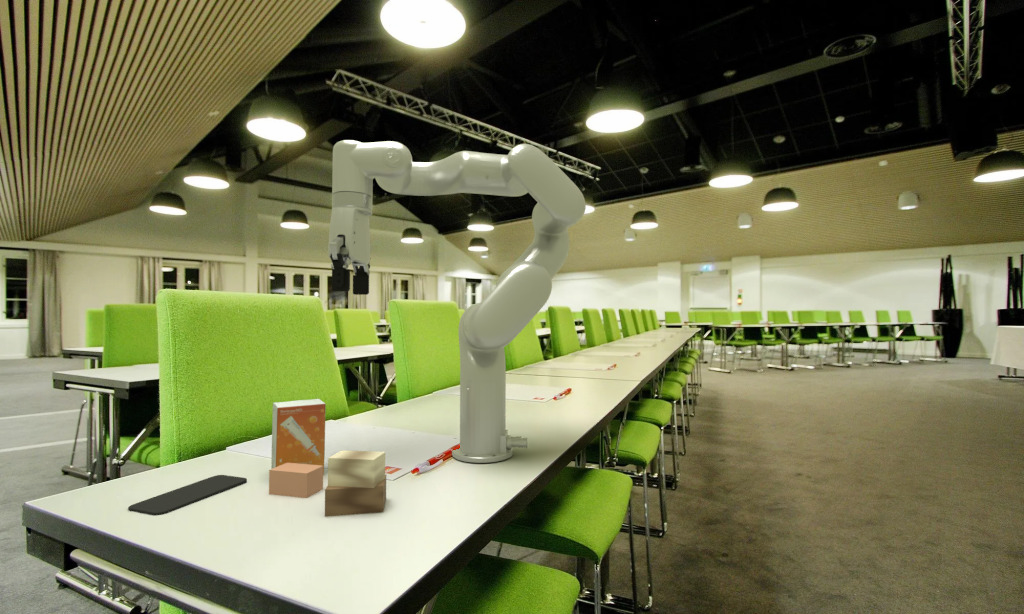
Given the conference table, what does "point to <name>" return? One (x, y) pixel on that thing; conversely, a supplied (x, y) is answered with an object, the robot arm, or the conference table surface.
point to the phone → (187, 495)
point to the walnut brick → (354, 500)
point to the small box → (298, 432)
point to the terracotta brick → (296, 480)
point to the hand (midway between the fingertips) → (351, 292)
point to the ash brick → (356, 469)
